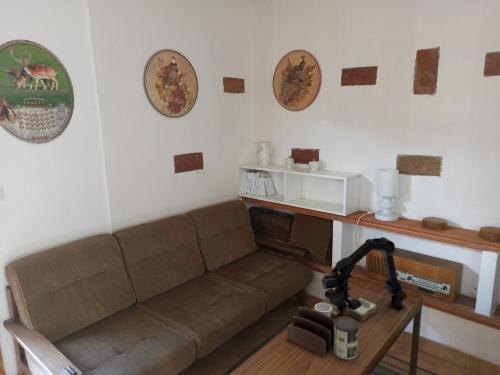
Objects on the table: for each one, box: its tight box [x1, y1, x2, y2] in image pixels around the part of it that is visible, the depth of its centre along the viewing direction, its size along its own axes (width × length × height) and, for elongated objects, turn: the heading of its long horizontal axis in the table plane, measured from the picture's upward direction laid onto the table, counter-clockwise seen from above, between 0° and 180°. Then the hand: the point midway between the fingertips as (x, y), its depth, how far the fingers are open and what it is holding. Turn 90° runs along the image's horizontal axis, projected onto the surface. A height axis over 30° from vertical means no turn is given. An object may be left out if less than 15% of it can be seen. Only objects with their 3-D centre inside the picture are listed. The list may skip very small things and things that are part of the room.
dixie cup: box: [314, 302, 332, 318], centre depth 175 cm, size 8×8×10 cm
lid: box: [349, 297, 376, 316], centre depth 184 cm, size 12×8×4 cm, turn 129°
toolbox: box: [347, 304, 378, 323], centre depth 184 cm, size 12×9×4 cm
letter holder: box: [286, 306, 335, 358], centre depth 162 cm, size 10×20×14 cm, turn 49°
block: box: [324, 299, 341, 316], centre depth 187 cm, size 4×7×5 cm, turn 40°
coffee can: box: [333, 316, 360, 360], centre depth 155 cm, size 10×10×14 cm
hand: (342, 313), depth 183 cm, fingers closed
